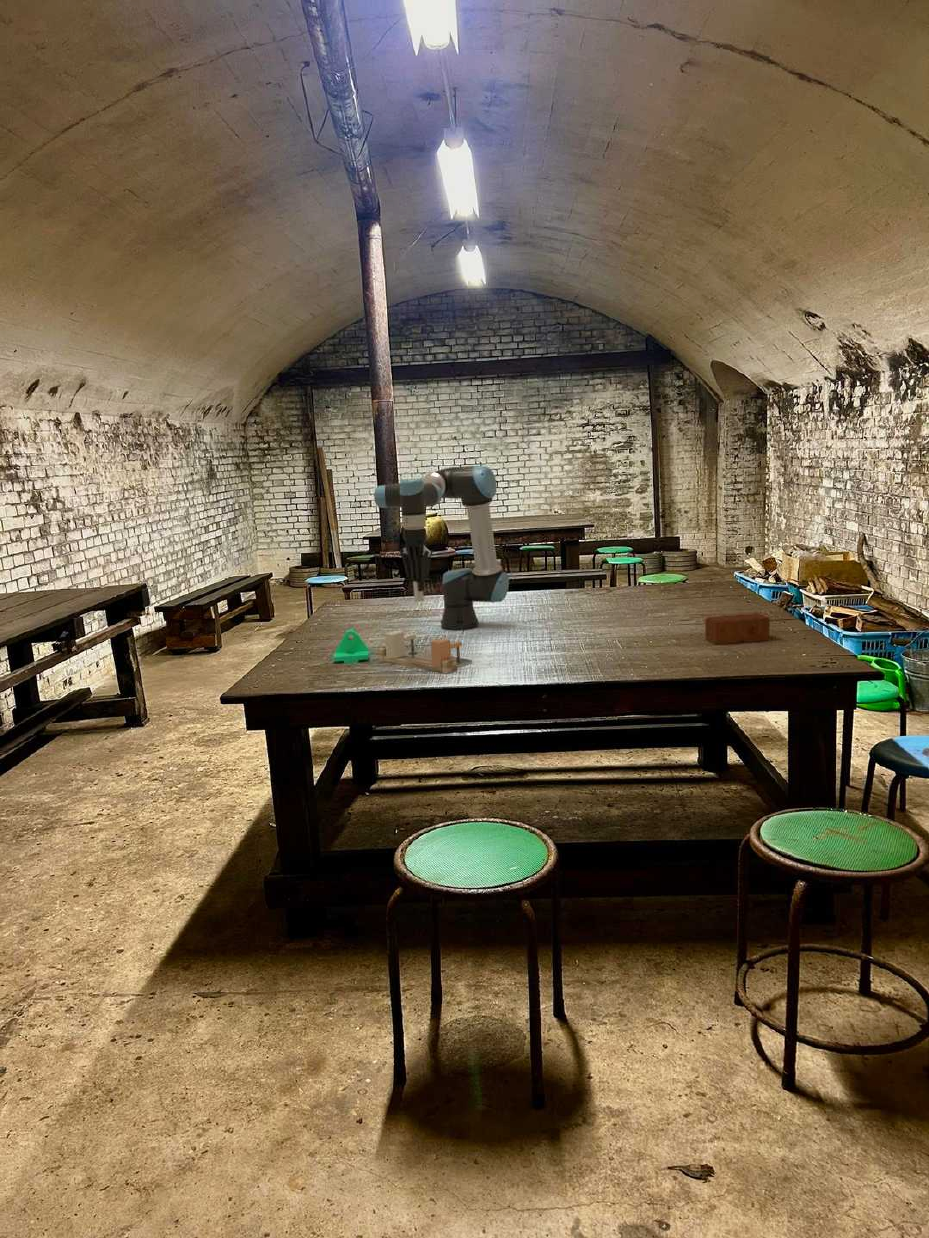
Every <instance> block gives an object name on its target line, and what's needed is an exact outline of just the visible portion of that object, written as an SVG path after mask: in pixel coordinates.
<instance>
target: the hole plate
mask: <svg viewBox="0 0 929 1238" xmlns="http://www.w3.org/2000/svg"><path fill="white" fill-rule="evenodd" d="M404 657H409V658H414V659H420V660H425V661H430V662H432V657H431V651H430V652H429V651H425V650H424V651H423V650H419V649H418V650H417V649H414V652H411V649H410V650H407V651H406V650H405V656H404ZM451 658H456V662H457V669H458V668H462V667H464V666H467V665H471V664H473V660H472V659H467V658H462V657H460V660H459V661H458V660H457V656H452V655H451Z"/></svg>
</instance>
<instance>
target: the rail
mask: <svg viewBox="0 0 929 1238" xmlns="http://www.w3.org/2000/svg"><path fill="white" fill-rule="evenodd" d="M378 653H379V654H378V655H379V661H380V662H387V663H393V664H397V665H402V666H407V667H411V668H417V669H421V670H426V671H431V672H436V673H440V674H441V673H442V674H443V675H449V674H450V673H454V672H456V671H458V668H457V662H456V658H451V659H448V660H445V661H442V668H439V667H434V666H432V662H430V661H425V660H420V659H414V658H409V657H404V656H402V657H398V658H395V659H394V658H389V657H387V656H386V647H382V648H379V649H378Z"/></svg>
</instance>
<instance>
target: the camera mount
mask: <svg viewBox="0 0 929 1238" xmlns="http://www.w3.org/2000/svg"><path fill="white" fill-rule="evenodd" d="M349 635H350V636H352V638H350V637H349ZM341 638H342V639H341V640H340V642H339V644H338V646H337V648H336V650H335V651H334V654H333V657H332V658H333V659H332V660H333V662H343V663H344V664H353V663H354V664H357V663H359V661H361V660H364V661H365V660H368V659H370V654H371V653H370V652H371V651H370V648H369V647H368V646H367V645H366V643H365V642H364V641H363V639H362V637H361V636H359V634H358V633H357V631H355V630H354V629H348V630H346V632H344V635H343V637H341Z"/></svg>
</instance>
